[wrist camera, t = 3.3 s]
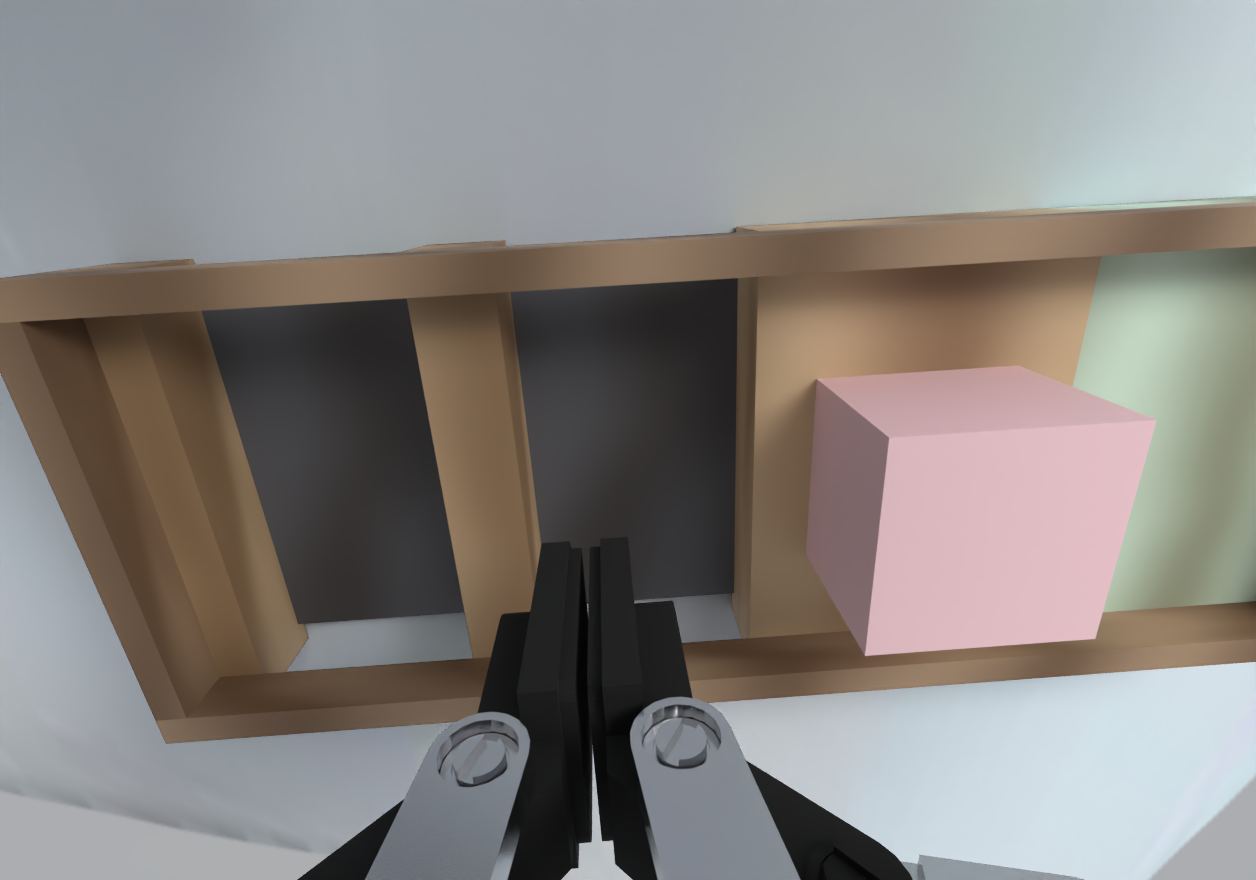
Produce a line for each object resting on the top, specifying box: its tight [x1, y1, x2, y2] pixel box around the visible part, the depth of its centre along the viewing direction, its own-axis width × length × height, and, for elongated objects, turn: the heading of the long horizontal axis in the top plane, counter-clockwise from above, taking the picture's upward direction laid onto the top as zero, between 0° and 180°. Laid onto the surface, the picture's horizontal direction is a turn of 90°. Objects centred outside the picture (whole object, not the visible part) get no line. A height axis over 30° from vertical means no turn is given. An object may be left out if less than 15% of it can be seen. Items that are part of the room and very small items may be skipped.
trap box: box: [0, 196, 1256, 744], centre depth 16 cm, size 32×12×4 cm, turn 93°
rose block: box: [806, 366, 1157, 656], centre depth 14 cm, size 5×5×4 cm
